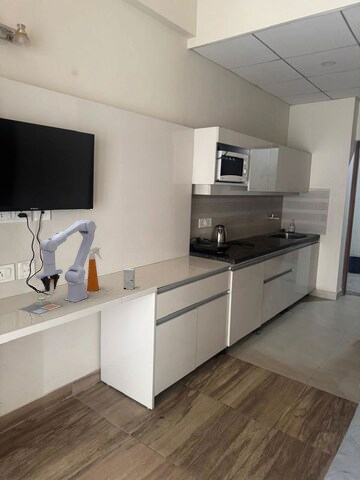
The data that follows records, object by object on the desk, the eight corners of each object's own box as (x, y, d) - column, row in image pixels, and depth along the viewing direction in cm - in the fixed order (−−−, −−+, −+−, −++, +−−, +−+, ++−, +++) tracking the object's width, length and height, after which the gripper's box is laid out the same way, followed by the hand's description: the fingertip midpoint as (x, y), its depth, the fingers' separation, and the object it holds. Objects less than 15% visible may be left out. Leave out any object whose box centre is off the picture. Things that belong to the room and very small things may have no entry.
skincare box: (123, 289, 207) (122, 269, 205) (125, 287, 212) (125, 267, 210) (133, 289, 206) (132, 269, 205) (135, 287, 211) (135, 268, 209)
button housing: (42, 301, 183) (42, 298, 182) (48, 303, 180) (48, 299, 180) (35, 304, 179) (35, 300, 178) (41, 305, 176) (41, 302, 176)
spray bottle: (100, 292, 200) (99, 247, 196) (84, 290, 203) (83, 246, 200) (106, 289, 206) (105, 246, 203) (91, 287, 210) (90, 245, 206)
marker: (51, 292, 176) (50, 278, 175) (55, 293, 174) (55, 278, 173) (45, 294, 173) (45, 279, 172) (50, 295, 171) (49, 280, 170)
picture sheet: (43, 302, 184) (43, 301, 184) (63, 307, 177) (63, 305, 177) (18, 311, 171) (18, 309, 171) (39, 316, 164) (39, 314, 164)
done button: (42, 300, 181) (42, 297, 181) (46, 301, 180) (46, 297, 180) (37, 301, 179) (37, 298, 178) (41, 302, 177) (41, 299, 177)
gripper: (55, 260, 180) (56, 285, 181) (31, 265, 167) (33, 292, 169) (65, 261, 176) (66, 287, 178) (41, 267, 164) (42, 294, 166)
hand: (50, 290), depth 173 cm, fingers closed on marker, 3 cm apart
